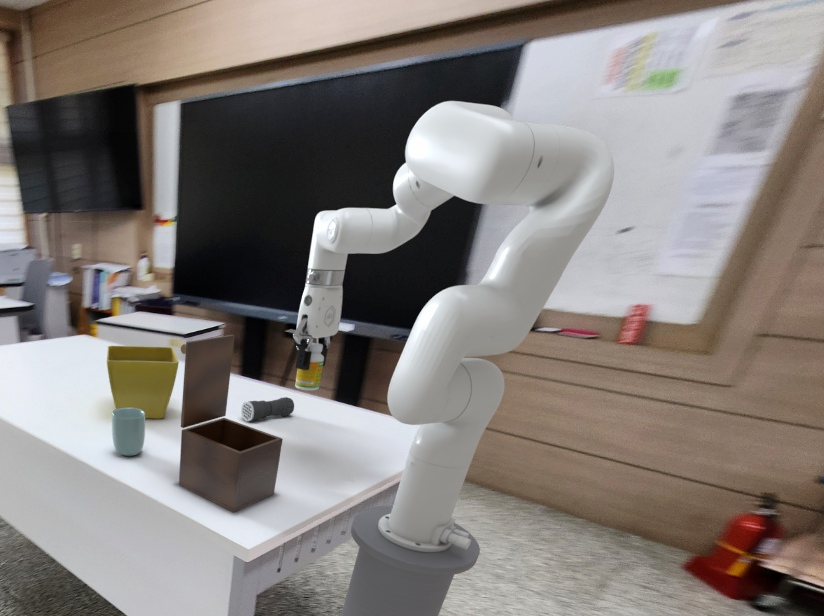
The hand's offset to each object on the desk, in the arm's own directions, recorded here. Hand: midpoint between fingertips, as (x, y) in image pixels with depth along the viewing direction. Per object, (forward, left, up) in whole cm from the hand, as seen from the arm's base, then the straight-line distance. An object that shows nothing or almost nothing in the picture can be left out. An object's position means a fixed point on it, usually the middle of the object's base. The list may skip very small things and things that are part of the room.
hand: (310, 366), depth 117 cm
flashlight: (+21, -15, -21) cm, 33 cm away
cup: (+25, +33, -21) cm, 46 cm away
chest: (-3, +29, -21) cm, 36 cm away
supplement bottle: (0, 0, -5) cm, 5 cm away
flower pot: (+47, +11, -21) cm, 52 cm away
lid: (+4, +29, 0) cm, 30 cm away
